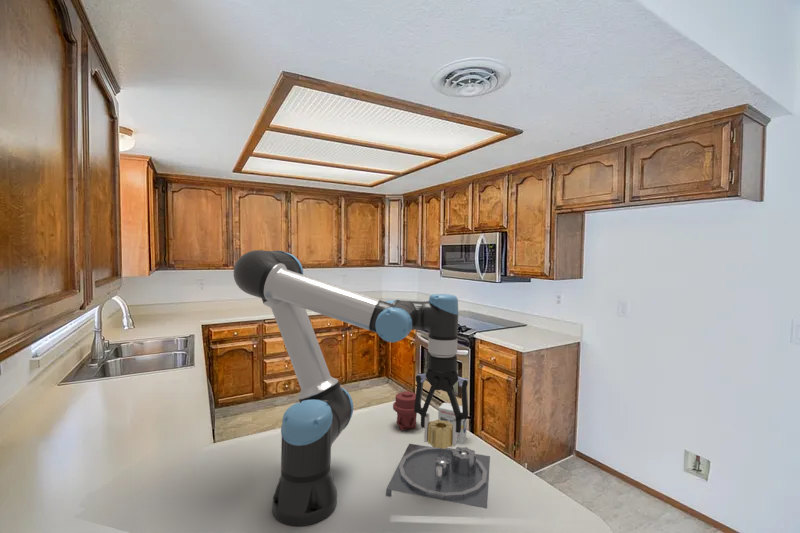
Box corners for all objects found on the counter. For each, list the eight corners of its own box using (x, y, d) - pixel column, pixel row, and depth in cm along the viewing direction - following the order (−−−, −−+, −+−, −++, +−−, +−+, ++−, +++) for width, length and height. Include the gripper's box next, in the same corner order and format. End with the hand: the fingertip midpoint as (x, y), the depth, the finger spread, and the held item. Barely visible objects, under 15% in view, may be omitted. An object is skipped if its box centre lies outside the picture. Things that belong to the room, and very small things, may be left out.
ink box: (466, 442, 126) (467, 406, 126) (461, 448, 121) (462, 412, 121) (442, 435, 130) (443, 401, 130) (436, 442, 125) (437, 406, 125)
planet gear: (454, 438, 102) (455, 421, 101) (451, 450, 95) (451, 432, 95) (430, 434, 103) (430, 418, 103) (425, 446, 97) (426, 429, 97)
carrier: (486, 514, 90) (487, 489, 90) (386, 494, 96) (386, 471, 96) (489, 461, 114) (490, 441, 114) (409, 448, 121) (409, 429, 120)
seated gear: (477, 475, 104) (478, 459, 103) (453, 474, 104) (453, 458, 103) (472, 462, 110) (473, 447, 110) (450, 462, 110) (450, 446, 110)
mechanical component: (394, 420, 141) (421, 422, 140) (390, 432, 131) (419, 434, 130) (395, 387, 141) (421, 389, 140) (391, 397, 131) (420, 398, 130)
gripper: (481, 353, 100) (479, 440, 100) (409, 347, 105) (407, 430, 105) (480, 360, 92) (477, 454, 93) (402, 354, 97) (400, 443, 98)
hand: (440, 441), depth 99 cm, fingers closed on planet gear, 7 cm apart
